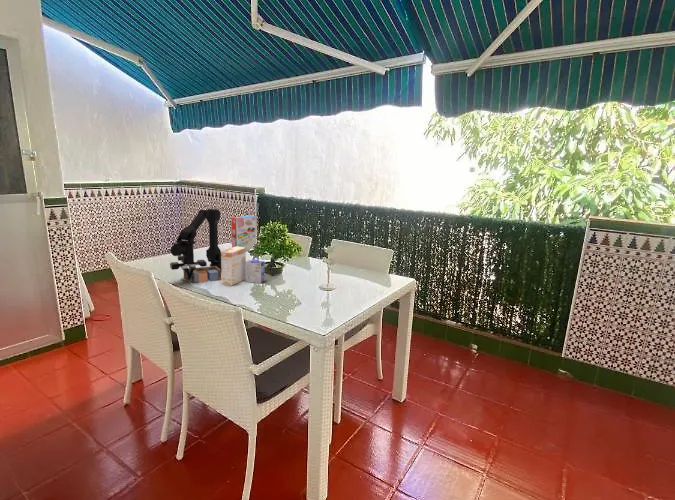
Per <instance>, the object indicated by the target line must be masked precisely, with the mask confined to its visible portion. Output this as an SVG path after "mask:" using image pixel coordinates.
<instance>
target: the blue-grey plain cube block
mask: <svg viewBox="0 0 675 500" xmlns="http://www.w3.org/2000/svg"><path fill="white" fill-rule="evenodd" d="M207 280H208V281H209V282H214V281H220V280H219V274H218V271H217V270H207Z"/></svg>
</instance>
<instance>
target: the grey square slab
mask: <svg viewBox="0 0 675 500" xmlns="http://www.w3.org/2000/svg"><path fill="white" fill-rule="evenodd" d="M191 280H192V282H193V283H194V284H196V283H197V284H198V282H199V277H198V272H197V271H196V270H194V271H193V273H192V279H191Z"/></svg>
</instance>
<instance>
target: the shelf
mask: <svg viewBox="0 0 675 500" xmlns="http://www.w3.org/2000/svg"><path fill="white" fill-rule="evenodd" d="M194 270H196V271H205V272H206V273H207V270H217V271H218V274H219V280H218V281H222V272H221V270H220V269H219V268H218V267H217V266H210V265H209V266H203V267H201V266H200V267H196V269H194ZM182 271H183V280H192V275H191V278H190V279H188V277H187V274H186V272H185V270H183V269H182Z"/></svg>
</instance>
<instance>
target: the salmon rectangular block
mask: <svg viewBox="0 0 675 500" xmlns="http://www.w3.org/2000/svg"><path fill="white" fill-rule="evenodd" d="M197 272H198V277H199V282H198V283H207V282H208V281H209V280H208V279H207V273H206V272H205V271H197ZM198 283H197V284H198Z"/></svg>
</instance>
